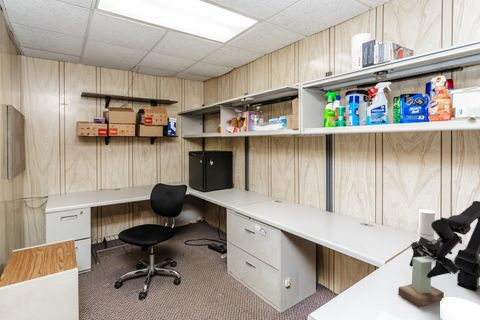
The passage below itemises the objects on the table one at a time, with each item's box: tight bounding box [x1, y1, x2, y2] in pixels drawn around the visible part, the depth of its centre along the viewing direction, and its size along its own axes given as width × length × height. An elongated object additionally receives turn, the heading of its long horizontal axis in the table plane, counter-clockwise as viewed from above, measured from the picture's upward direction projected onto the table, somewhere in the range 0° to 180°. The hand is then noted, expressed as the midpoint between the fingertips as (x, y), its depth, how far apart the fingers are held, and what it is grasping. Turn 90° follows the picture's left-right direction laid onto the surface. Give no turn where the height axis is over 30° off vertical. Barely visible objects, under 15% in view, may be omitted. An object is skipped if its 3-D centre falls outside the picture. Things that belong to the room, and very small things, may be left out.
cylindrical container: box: [417, 209, 436, 259], centre depth 146 cm, size 7×7×25 cm
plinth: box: [397, 283, 445, 308], centre depth 108 cm, size 14×9×3 cm, turn 110°
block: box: [411, 257, 433, 293], centre depth 107 cm, size 4×4×13 cm
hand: (418, 271), depth 107 cm, fingers open, 9 cm apart
